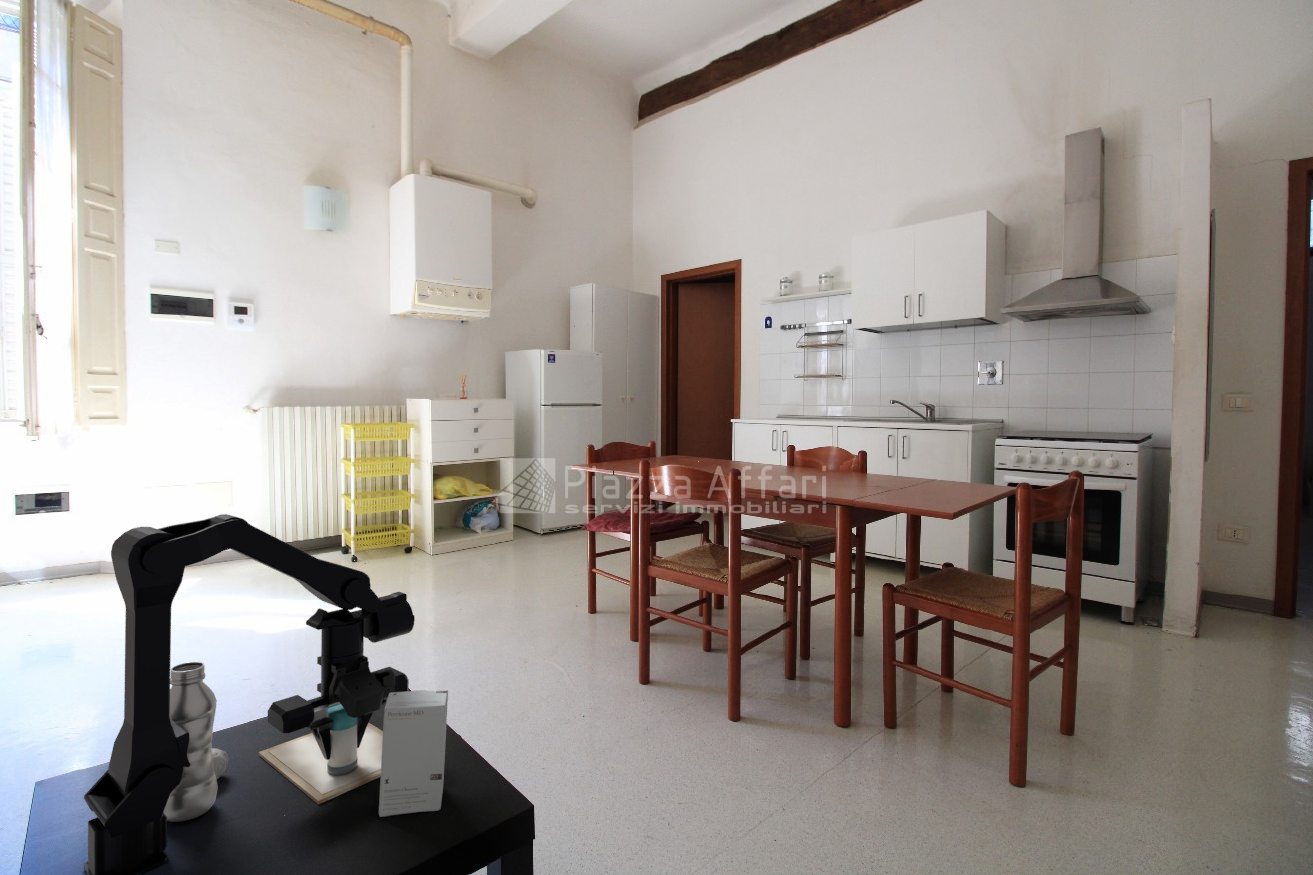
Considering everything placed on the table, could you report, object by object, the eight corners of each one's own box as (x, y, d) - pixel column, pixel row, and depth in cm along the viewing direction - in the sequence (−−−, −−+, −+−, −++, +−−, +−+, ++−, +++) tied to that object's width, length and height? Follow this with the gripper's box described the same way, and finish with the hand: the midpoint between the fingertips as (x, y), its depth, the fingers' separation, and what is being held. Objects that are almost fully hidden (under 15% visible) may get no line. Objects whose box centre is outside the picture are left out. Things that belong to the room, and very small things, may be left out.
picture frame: (318, 804, 90) (318, 800, 90) (258, 755, 102) (258, 751, 102) (422, 757, 102) (422, 754, 102) (358, 718, 114) (358, 715, 114)
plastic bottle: (187, 832, 83) (187, 678, 82) (143, 824, 84) (143, 673, 84) (229, 803, 89) (230, 660, 89) (188, 796, 91) (188, 655, 90)
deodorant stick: (335, 778, 95) (335, 717, 94) (321, 769, 97) (321, 709, 97) (363, 767, 98) (363, 707, 98) (349, 758, 100) (349, 700, 100)
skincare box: (378, 818, 87) (379, 709, 86) (385, 793, 93) (386, 690, 92) (444, 810, 89) (445, 704, 88) (446, 786, 95) (448, 685, 94)
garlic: (179, 798, 90) (179, 761, 90) (177, 780, 94) (177, 745, 94) (230, 783, 94) (231, 748, 94) (226, 767, 98) (226, 733, 98)
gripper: (301, 684, 85) (300, 801, 85) (428, 646, 99) (427, 746, 100) (266, 663, 92) (265, 771, 92) (390, 630, 106) (389, 724, 107)
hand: (341, 752), depth 98 cm, fingers closed on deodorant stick, 4 cm apart
